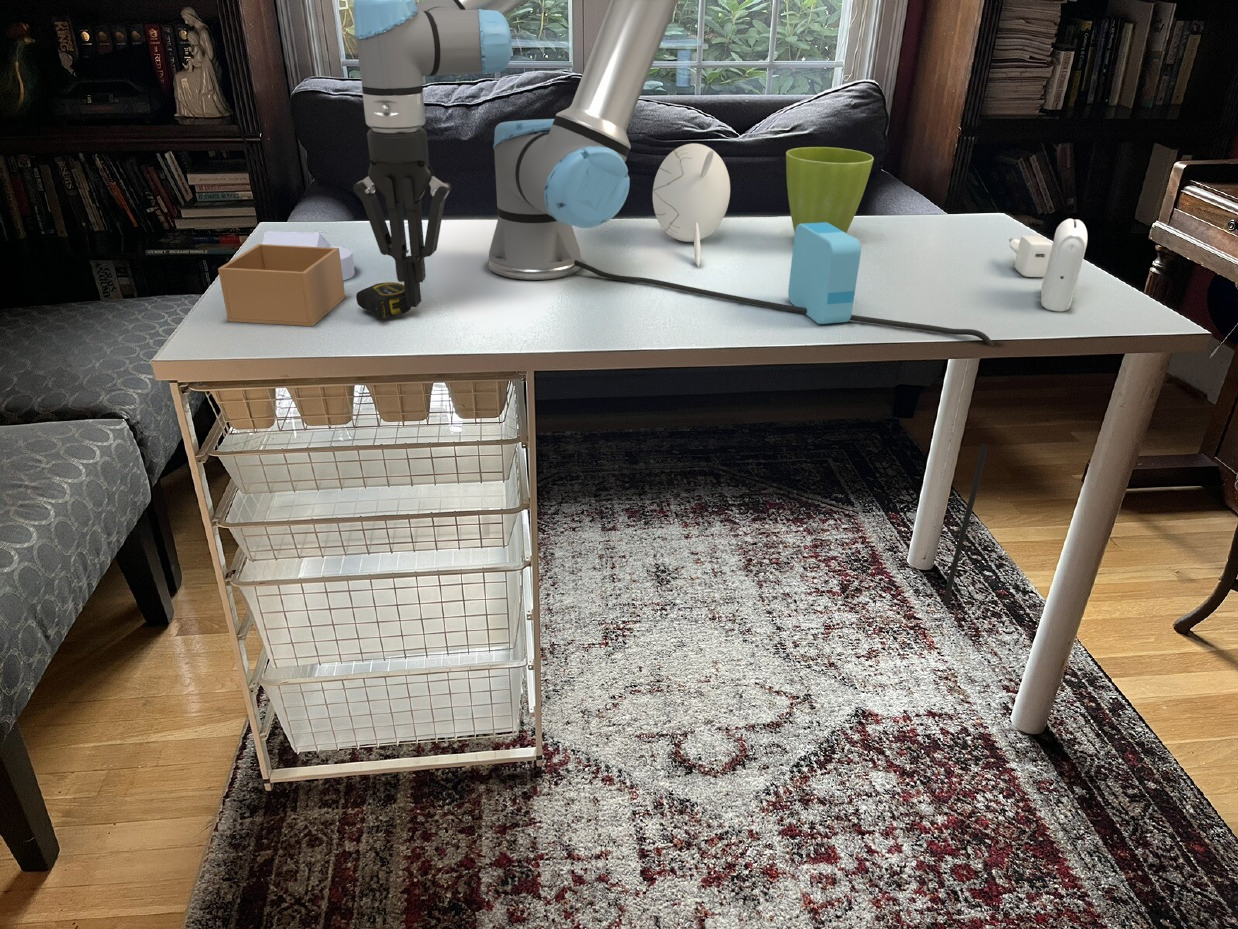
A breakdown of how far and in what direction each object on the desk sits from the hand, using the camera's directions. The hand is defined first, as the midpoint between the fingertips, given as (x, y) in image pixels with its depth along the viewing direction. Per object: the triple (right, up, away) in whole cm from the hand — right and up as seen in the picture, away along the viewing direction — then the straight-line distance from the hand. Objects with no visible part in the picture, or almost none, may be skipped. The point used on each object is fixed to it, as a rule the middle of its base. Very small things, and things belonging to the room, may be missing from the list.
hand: (414, 303), depth 129 cm
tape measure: (-4, -2, +1) cm, 5 cm away
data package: (+58, 0, +6) cm, 58 cm away
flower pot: (+65, +17, +37) cm, 77 cm away
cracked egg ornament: (+42, +16, +35) cm, 57 cm away
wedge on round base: (-20, +7, +17) cm, 27 cm away
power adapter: (+98, +10, +27) cm, 102 cm away
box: (-19, 0, +3) cm, 19 cm away
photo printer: (+96, +2, +12) cm, 97 cm away
